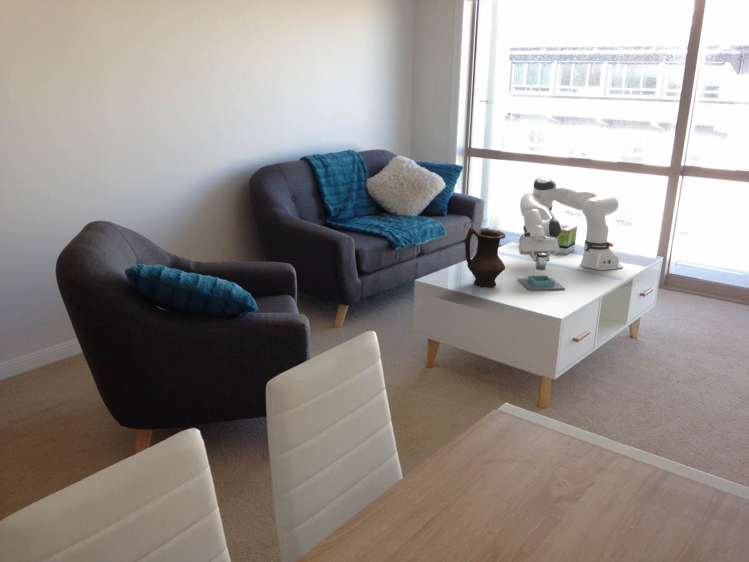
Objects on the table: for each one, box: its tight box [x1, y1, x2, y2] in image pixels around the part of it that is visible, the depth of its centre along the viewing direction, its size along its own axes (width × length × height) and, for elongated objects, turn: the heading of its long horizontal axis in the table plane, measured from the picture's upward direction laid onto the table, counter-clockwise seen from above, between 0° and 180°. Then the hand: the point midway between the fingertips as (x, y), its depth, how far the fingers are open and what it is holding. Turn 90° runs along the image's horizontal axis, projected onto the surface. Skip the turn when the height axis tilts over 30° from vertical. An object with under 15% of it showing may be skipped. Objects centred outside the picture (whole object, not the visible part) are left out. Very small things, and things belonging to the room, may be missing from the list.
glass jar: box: [535, 252, 548, 271], centre depth 326 cm, size 5×5×8 cm
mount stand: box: [517, 275, 566, 292], centre depth 329 cm, size 18×18×4 cm
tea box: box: [556, 224, 578, 255], centre depth 395 cm, size 15×10×15 cm
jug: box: [464, 226, 506, 288], centre depth 325 cm, size 21×18×30 cm
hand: (541, 260), depth 325 cm, fingers closed on glass jar, 5 cm apart
